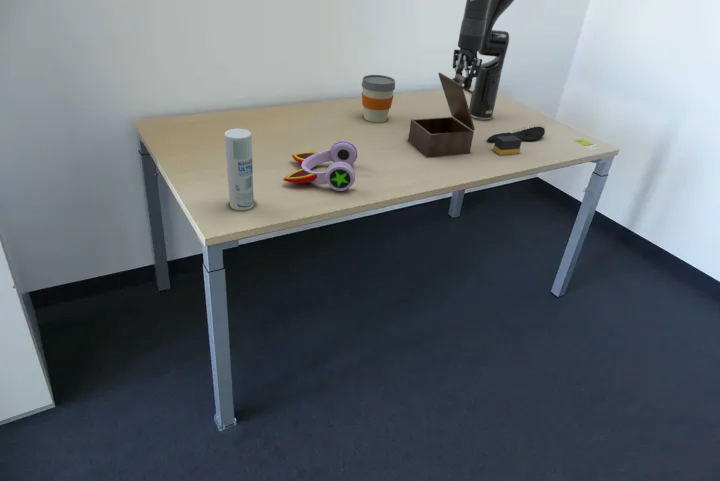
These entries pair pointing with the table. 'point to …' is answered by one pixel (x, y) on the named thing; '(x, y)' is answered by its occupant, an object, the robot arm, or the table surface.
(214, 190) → the table surface
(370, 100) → the reusable coffee cup
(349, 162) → the headphones
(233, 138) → the spray can
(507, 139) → the duster
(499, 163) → the table surface
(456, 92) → the case lid
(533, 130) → the hairbrush
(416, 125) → the case
